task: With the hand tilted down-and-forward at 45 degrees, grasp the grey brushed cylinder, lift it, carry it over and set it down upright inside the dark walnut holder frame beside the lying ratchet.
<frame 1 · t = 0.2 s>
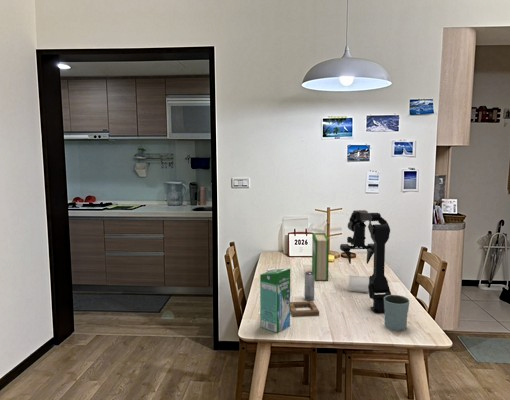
hand: (358, 263, 209), 14 cm above the table, tool pointing down, fingers open, 9 cm apart
hardback book: (319, 276, 234), on the table
mug: (358, 290, 212), on the table
grey brushed cylinder: (309, 299, 198), on the table
holder: (303, 310, 184), on the table
milk carton: (275, 326, 168), on the table
grey-green cup: (395, 327, 167), on the table
ratchet: (277, 296, 202), on the table
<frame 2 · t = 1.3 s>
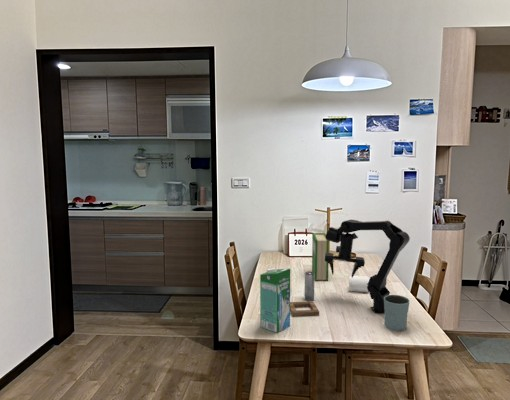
hand: (342, 276, 196), 12 cm above the table, tool pointing down, fingers open, 9 cm apart
nothing on the table moved.
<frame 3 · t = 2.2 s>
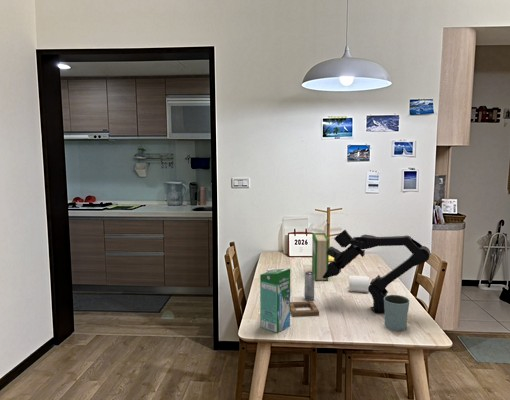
hand: (325, 275, 194), 13 cm above the table, tool tilted 45°, fingers open, 9 cm apart
nothing on the table moved.
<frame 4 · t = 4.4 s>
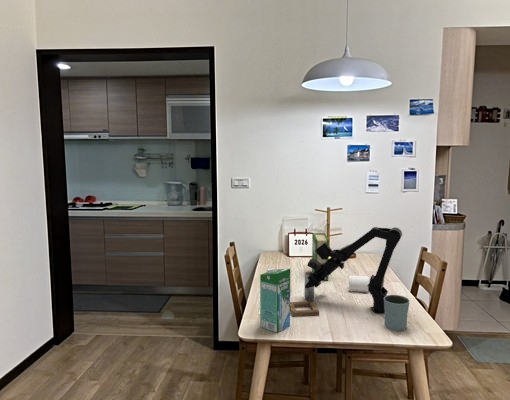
hand: (306, 285, 198), 7 cm above the table, tool tilted 45°, fingers closed on grey brushed cylinder, 5 cm apart
grey brushed cylinder: (309, 299, 198), on the table, touching gripper
everything else where it was.
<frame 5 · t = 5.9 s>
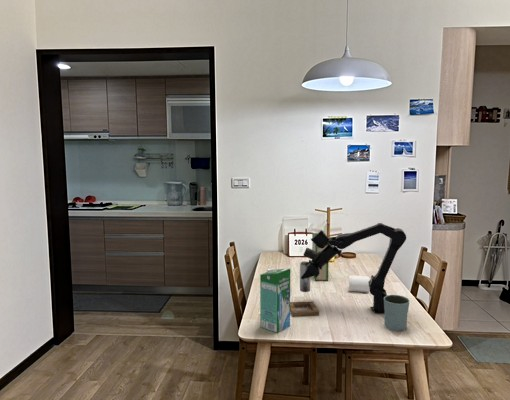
hand: (302, 276, 191), 14 cm above the table, tool tilted 45°, fingers closed on grey brushed cylinder, 5 cm apart
grey brushed cylinder: (304, 290, 191), point 7 cm above the table, touching gripper
everything else where it was.
when the fingers open (8 cm above the table, at t = 7.7 s): grey brushed cylinder drops 2 cm, resting in holder.
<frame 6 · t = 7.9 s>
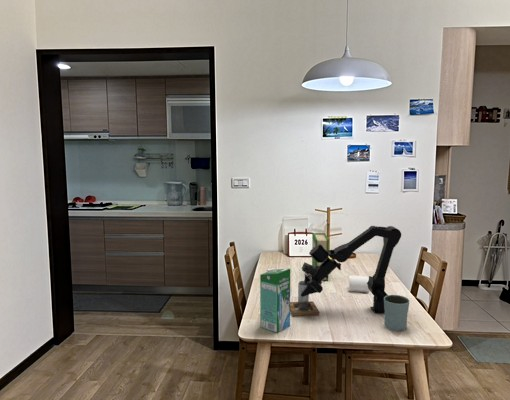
hand: (300, 292, 183), 9 cm above the table, tool tilted 45°, fingers open, 7 cm apart
grey brushed cylinder: (303, 310, 184), resting in holder
everything else where it was.
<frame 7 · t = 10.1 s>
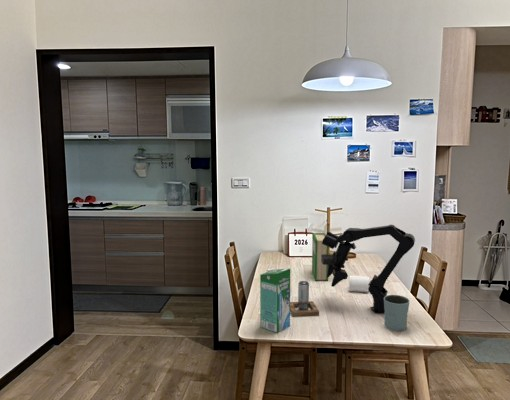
hand: (329, 281, 192), 11 cm above the table, tool tilted 20°, fingers open, 9 cm apart
nothing on the table moved.
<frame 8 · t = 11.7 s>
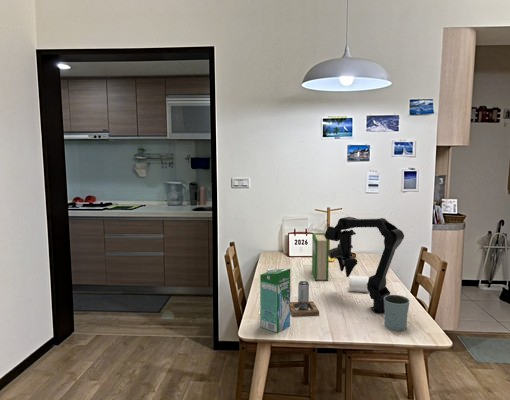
hand: (344, 273, 196), 13 cm above the table, tool pointing down, fingers open, 9 cm apart
nothing on the table moved.
at the end: grey brushed cylinder inside the target area on the holder (0.0 cm from its centre), point 0.0 cm above the holder's base; grey brushed cylinder tilted 0°; the gripper is holding nothing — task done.
